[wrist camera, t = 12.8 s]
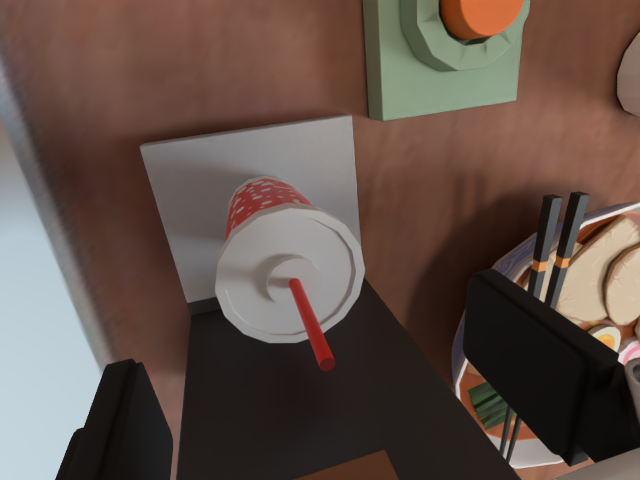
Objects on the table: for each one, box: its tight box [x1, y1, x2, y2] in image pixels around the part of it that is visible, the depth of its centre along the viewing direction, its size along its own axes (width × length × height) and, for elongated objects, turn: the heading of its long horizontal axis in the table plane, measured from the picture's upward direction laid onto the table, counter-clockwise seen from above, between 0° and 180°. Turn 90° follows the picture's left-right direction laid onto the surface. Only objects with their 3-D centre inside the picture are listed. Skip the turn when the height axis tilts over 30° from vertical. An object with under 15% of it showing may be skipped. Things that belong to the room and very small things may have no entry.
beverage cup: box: [215, 175, 365, 371], centre depth 17 cm, size 6×6×14 cm
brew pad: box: [363, 0, 530, 121], centre depth 21 cm, size 11×9×4 cm
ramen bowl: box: [452, 192, 640, 469], centre depth 30 cm, size 25×23×8 cm
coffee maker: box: [140, 114, 521, 480], centre depth 16 cm, size 17×12×22 cm
